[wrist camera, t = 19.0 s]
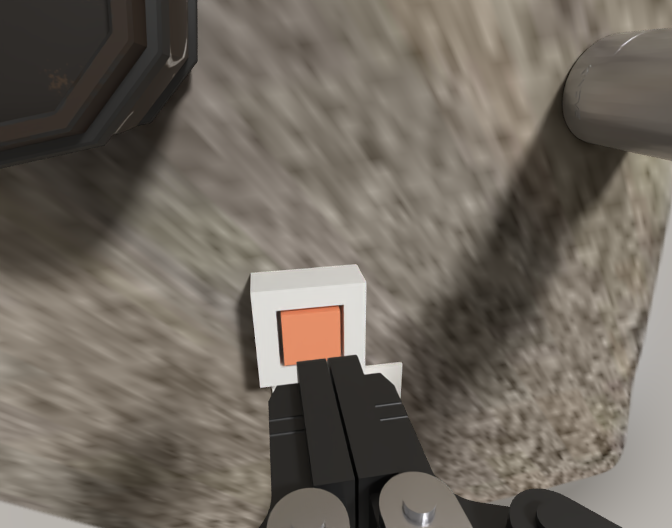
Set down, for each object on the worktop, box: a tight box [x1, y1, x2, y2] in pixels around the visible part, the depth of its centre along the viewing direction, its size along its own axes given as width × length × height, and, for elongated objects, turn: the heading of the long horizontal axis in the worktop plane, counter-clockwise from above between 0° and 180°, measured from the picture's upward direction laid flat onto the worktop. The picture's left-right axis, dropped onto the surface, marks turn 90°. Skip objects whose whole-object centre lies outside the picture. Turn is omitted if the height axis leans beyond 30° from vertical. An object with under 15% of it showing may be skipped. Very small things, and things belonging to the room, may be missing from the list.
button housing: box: [250, 264, 366, 388], centre depth 41 cm, size 10×10×4 cm
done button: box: [280, 305, 341, 366], centre depth 41 cm, size 5×5×3 cm
